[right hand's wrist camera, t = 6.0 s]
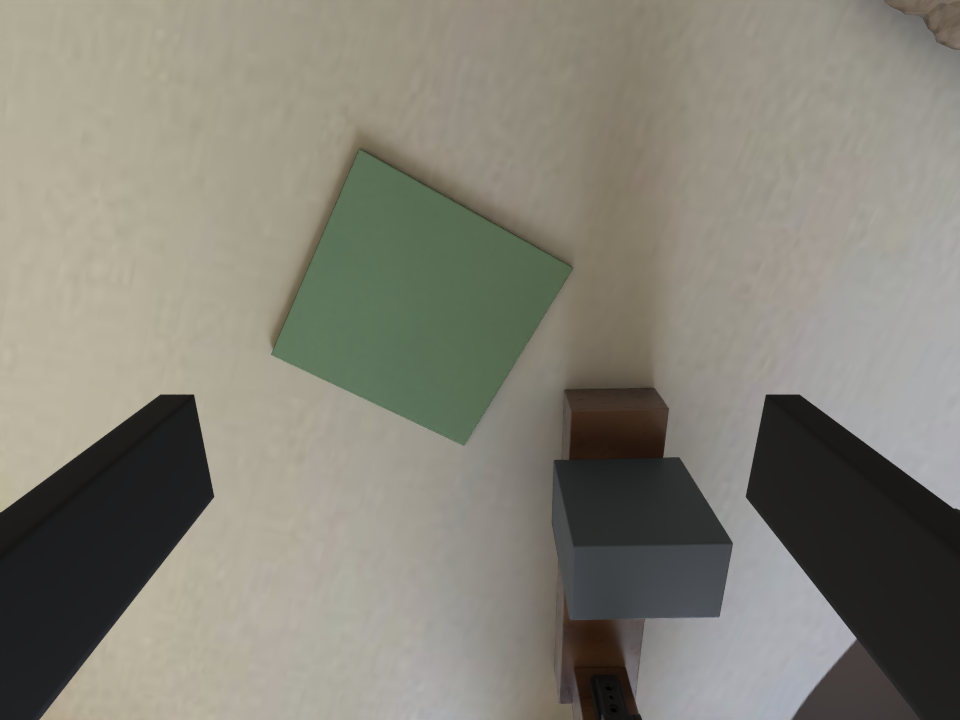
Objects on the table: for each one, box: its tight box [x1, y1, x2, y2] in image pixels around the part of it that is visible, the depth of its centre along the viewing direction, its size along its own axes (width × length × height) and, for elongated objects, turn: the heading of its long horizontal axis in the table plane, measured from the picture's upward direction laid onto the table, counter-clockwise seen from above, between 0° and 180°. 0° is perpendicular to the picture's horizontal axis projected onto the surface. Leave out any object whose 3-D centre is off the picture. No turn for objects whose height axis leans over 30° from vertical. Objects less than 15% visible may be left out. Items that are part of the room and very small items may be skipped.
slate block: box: [552, 457, 733, 620], centre depth 32 cm, size 5×8×8 cm, turn 91°
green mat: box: [271, 149, 573, 445], centre depth 34 cm, size 14×14×1 cm
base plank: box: [554, 388, 669, 720], centre depth 37 cm, size 26×6×9 cm, turn 1°
